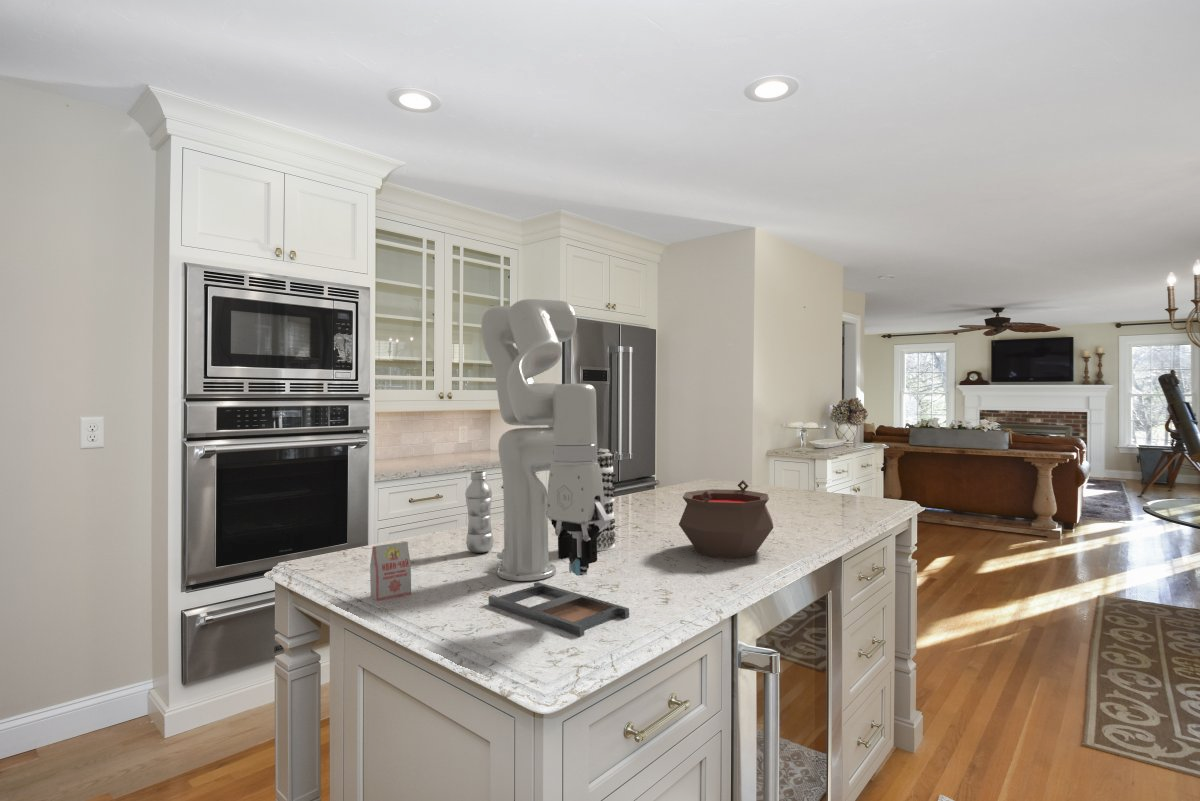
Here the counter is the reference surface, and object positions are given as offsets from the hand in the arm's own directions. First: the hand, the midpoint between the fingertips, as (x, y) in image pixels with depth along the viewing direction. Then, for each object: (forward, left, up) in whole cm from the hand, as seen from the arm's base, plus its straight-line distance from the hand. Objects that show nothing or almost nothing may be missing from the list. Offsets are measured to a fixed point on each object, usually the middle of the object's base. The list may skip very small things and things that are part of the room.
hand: (577, 559), depth 109 cm
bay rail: (-6, 0, -10) cm, 12 cm away
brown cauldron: (-6, +57, -10) cm, 58 cm away
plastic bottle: (-52, +17, -10) cm, 56 cm away
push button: (+1, 0, -3) cm, 3 cm away
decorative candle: (-33, +40, -10) cm, 53 cm away
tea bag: (-37, -15, -10) cm, 41 cm away
